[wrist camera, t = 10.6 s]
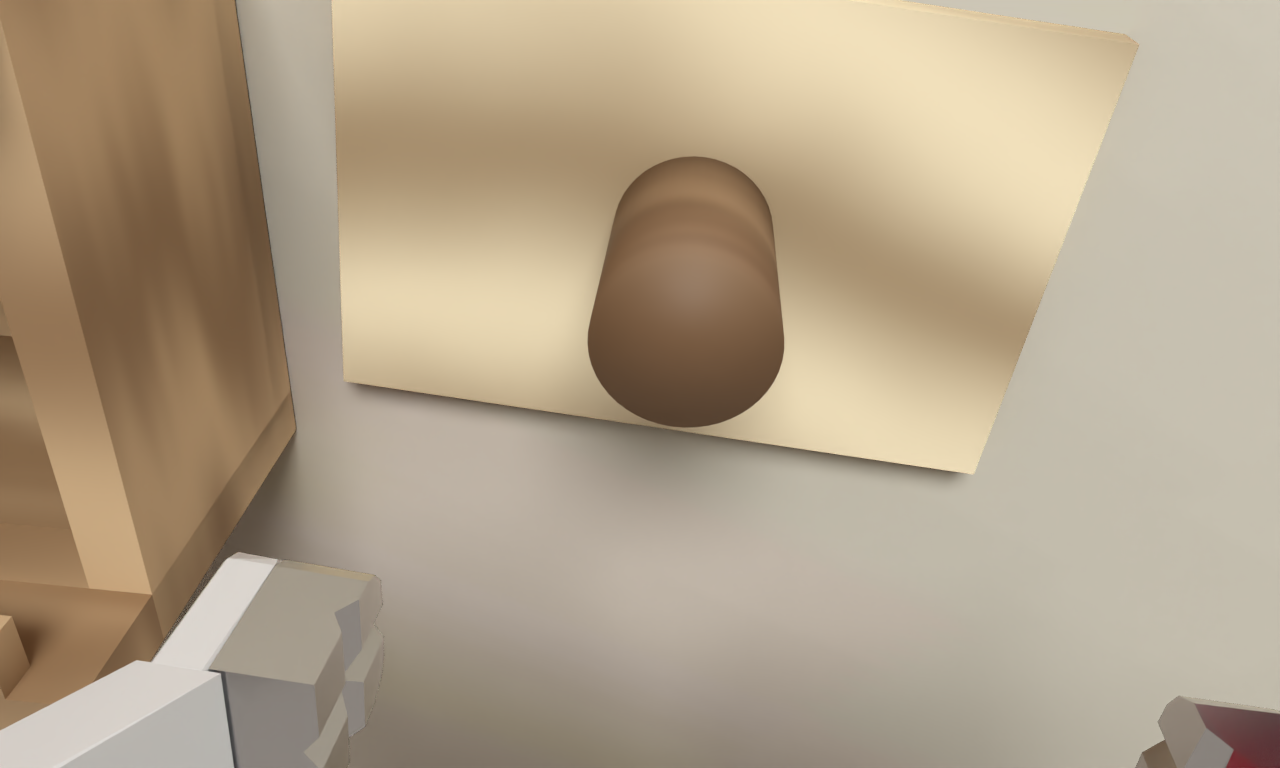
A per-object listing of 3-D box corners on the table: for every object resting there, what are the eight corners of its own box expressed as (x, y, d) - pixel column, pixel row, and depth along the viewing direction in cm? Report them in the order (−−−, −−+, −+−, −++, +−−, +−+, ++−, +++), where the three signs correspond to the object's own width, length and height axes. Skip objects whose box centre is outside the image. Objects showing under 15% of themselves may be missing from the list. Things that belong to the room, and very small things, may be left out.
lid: (962, 439, 21) (1024, 620, 17) (362, 350, 21) (265, 509, 17) (1113, 26, 17) (1254, 124, 12) (353, -90, 17) (218, -32, 12)
